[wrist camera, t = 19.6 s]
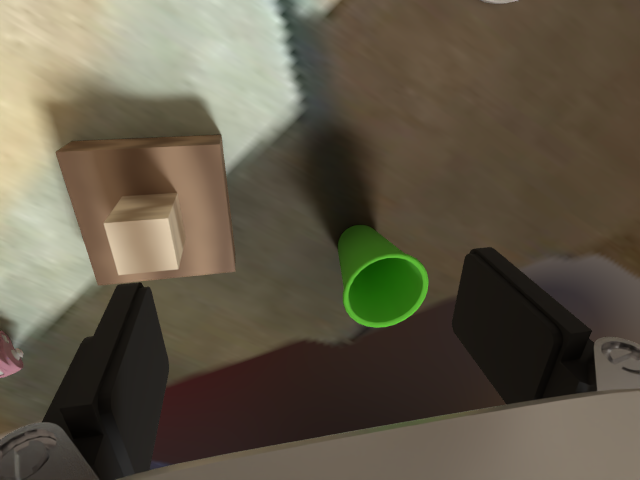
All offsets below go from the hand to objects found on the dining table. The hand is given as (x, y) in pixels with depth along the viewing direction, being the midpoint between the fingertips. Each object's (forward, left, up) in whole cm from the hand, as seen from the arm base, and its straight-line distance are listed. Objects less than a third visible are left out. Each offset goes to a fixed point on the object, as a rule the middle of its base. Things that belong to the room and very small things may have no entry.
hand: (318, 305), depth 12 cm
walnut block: (+11, +9, -32) cm, 35 cm away
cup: (-11, +16, -32) cm, 38 cm away
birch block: (+11, +9, -28) cm, 32 cm away
